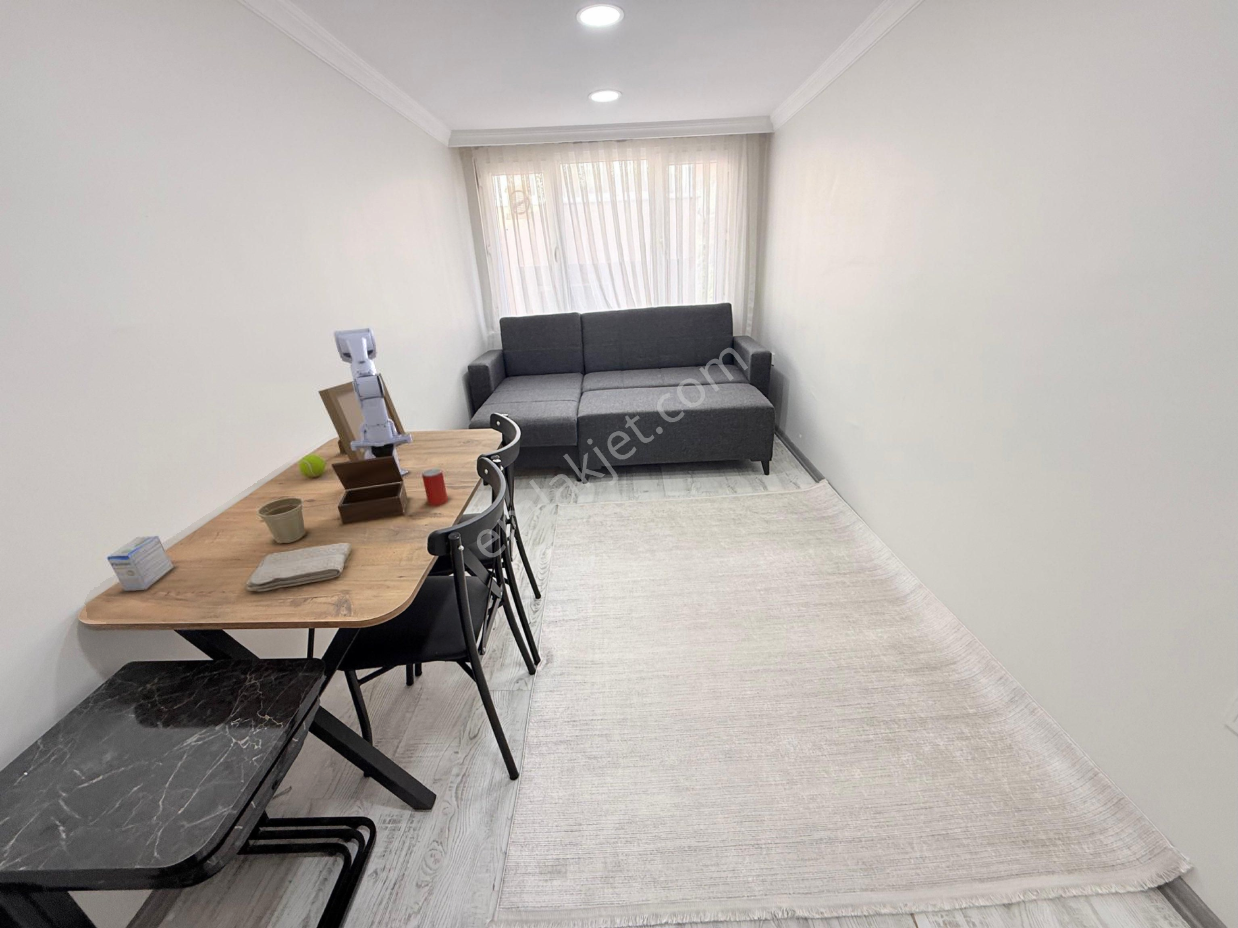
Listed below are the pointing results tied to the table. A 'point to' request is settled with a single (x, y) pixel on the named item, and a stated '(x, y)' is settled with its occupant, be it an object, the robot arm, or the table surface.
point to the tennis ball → (312, 465)
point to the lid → (368, 472)
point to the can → (435, 487)
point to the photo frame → (352, 416)
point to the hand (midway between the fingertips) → (389, 470)
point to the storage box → (373, 503)
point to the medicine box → (140, 563)
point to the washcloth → (299, 567)
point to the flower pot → (284, 519)
